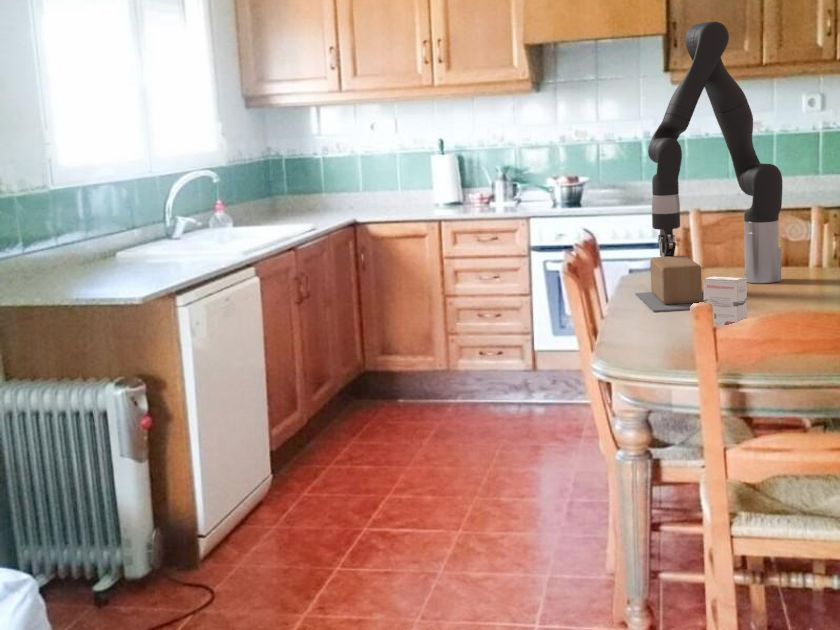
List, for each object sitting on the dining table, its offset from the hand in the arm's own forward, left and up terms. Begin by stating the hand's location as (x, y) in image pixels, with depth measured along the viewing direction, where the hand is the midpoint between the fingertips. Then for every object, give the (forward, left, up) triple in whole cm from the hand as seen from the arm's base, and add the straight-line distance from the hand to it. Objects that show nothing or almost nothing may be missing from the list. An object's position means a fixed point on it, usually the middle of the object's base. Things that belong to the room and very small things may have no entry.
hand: (667, 273), depth 293 cm
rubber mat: (+1, +16, -5) cm, 16 cm away
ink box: (-2, +55, -5) cm, 55 cm away
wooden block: (0, +3, 0) cm, 3 cm away
